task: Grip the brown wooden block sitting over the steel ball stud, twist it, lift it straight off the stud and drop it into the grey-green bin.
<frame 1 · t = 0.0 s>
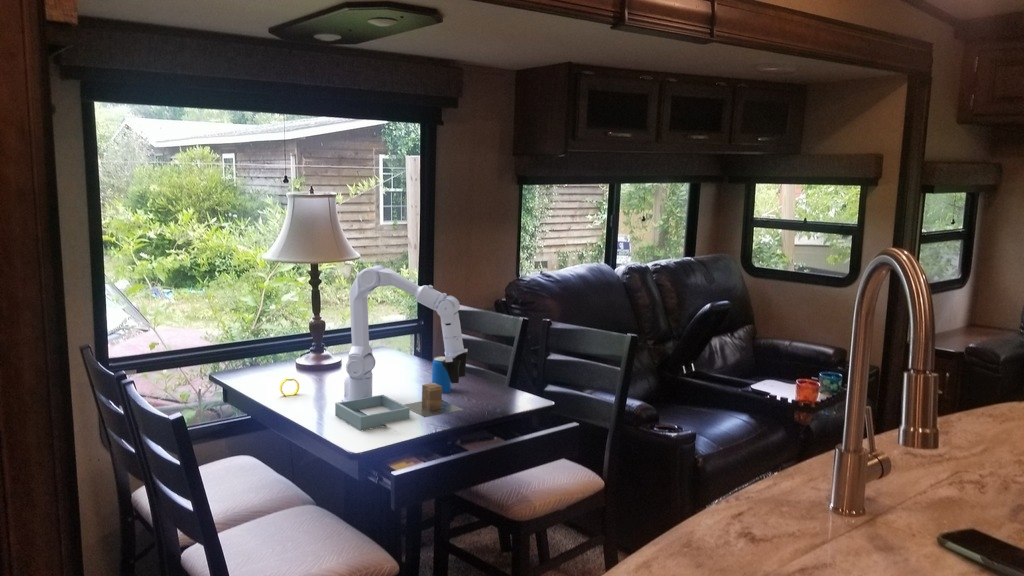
hand: (458, 379, 226), 11 cm above the table, tool pointing down, fingers open, 7 cm apart
brown wooden block: (431, 407, 228), point 1 cm above the table, touching stud base
bin: (372, 418, 219), on the table
stud base: (431, 410, 229), on the table
beverage can: (441, 393, 248), on the table
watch: (289, 395, 239), on the table
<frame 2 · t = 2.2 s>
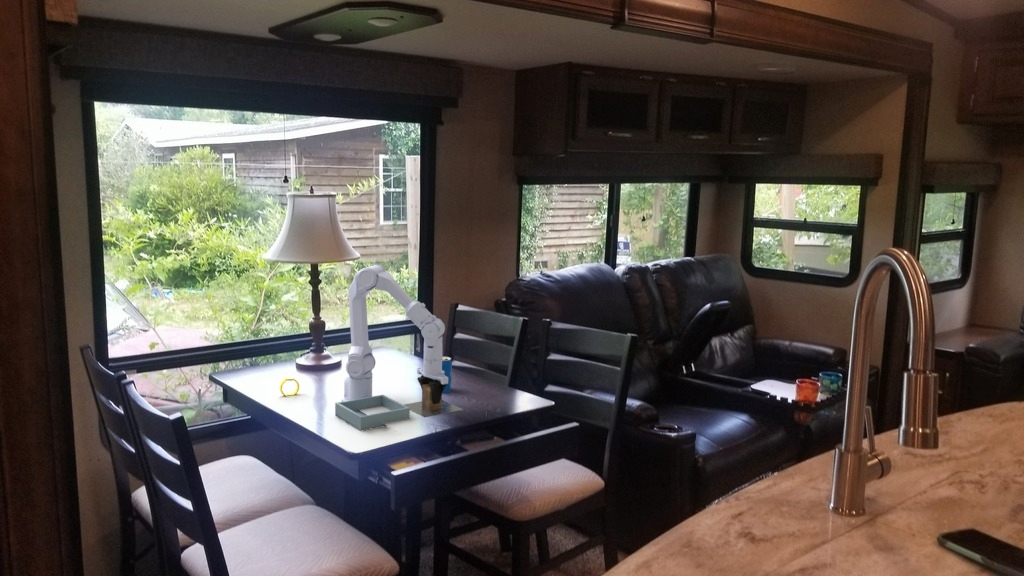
hand: (431, 401, 228), 3 cm above the table, tool pointing down, fingers closed on brown wooden block, 4 cm apart
brown wooden block: (431, 407, 228), point 1 cm above the table, touching gripper, stud base
everything else where it was.
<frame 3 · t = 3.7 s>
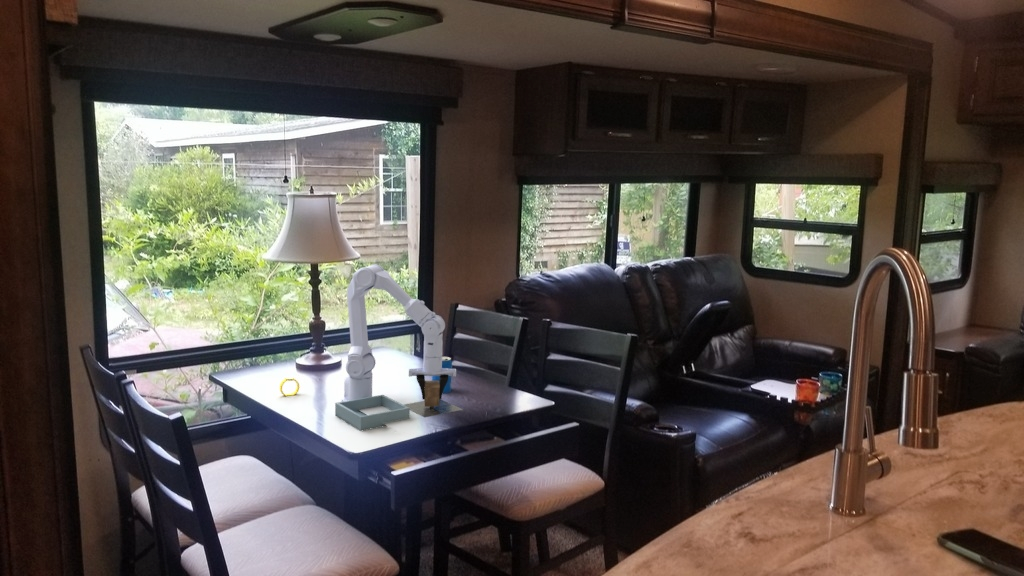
hand: (431, 398, 228), 4 cm above the table, tool pointing down, fingers closed on brown wooden block, 4 cm apart
brown wooden block: (431, 404, 228), point 2 cm above the table, touching gripper
everything else where it was.
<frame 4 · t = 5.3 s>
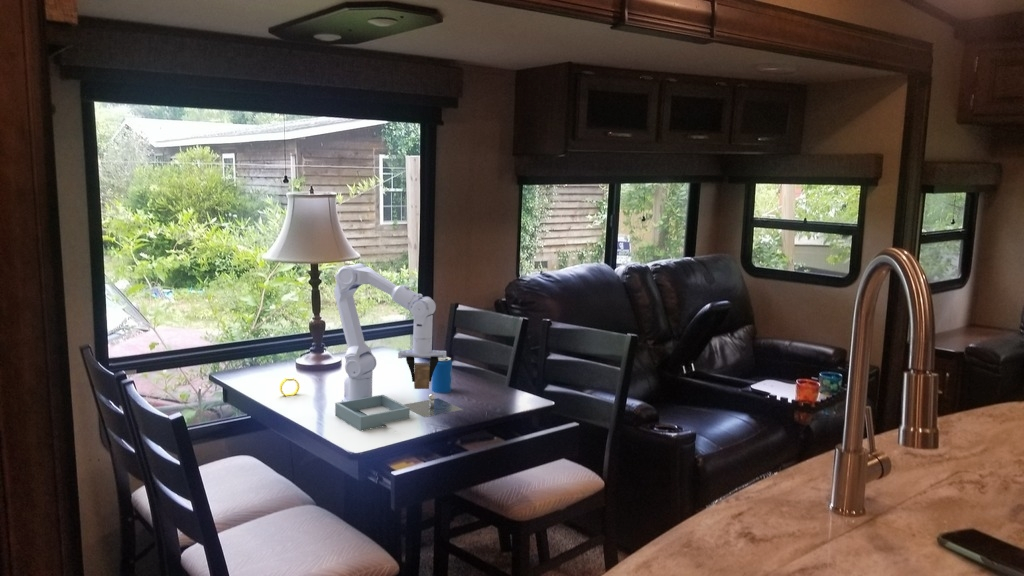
hand: (421, 380, 226), 10 cm above the table, tool pointing down, fingers closed on brown wooden block, 4 cm apart
brown wooden block: (421, 386, 226), point 8 cm above the table, touching gripper
everything else where it was.
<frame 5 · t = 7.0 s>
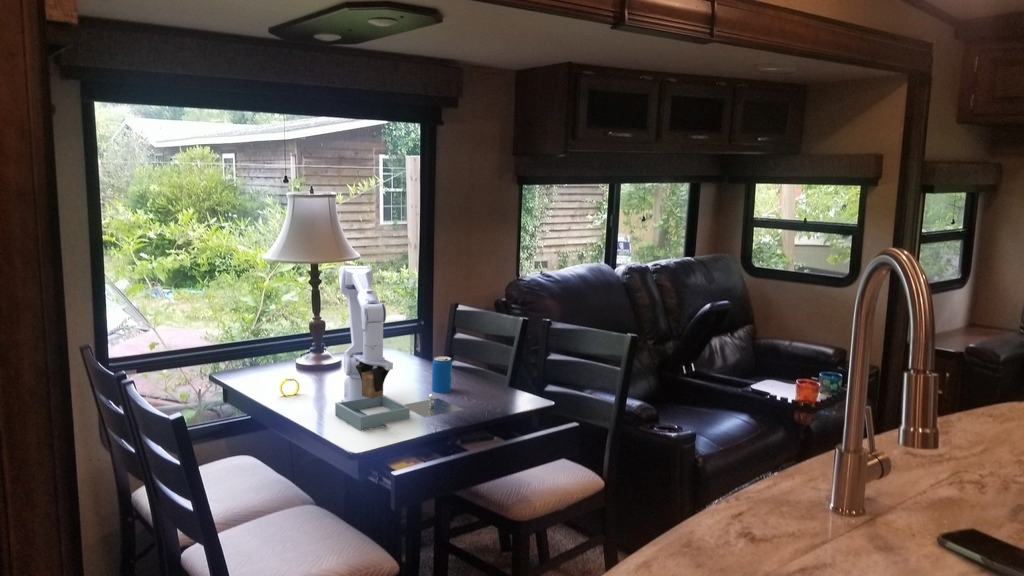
hand: (372, 389, 218), 9 cm above the table, tool pointing down, fingers closed on brown wooden block, 4 cm apart
brown wooden block: (372, 395, 218), point 7 cm above the table, touching gripper
everything else where it was.
when the fingers open (4 cm above the table, at t = 8.3 s): brown wooden block drops 1 cm, resting on bin.
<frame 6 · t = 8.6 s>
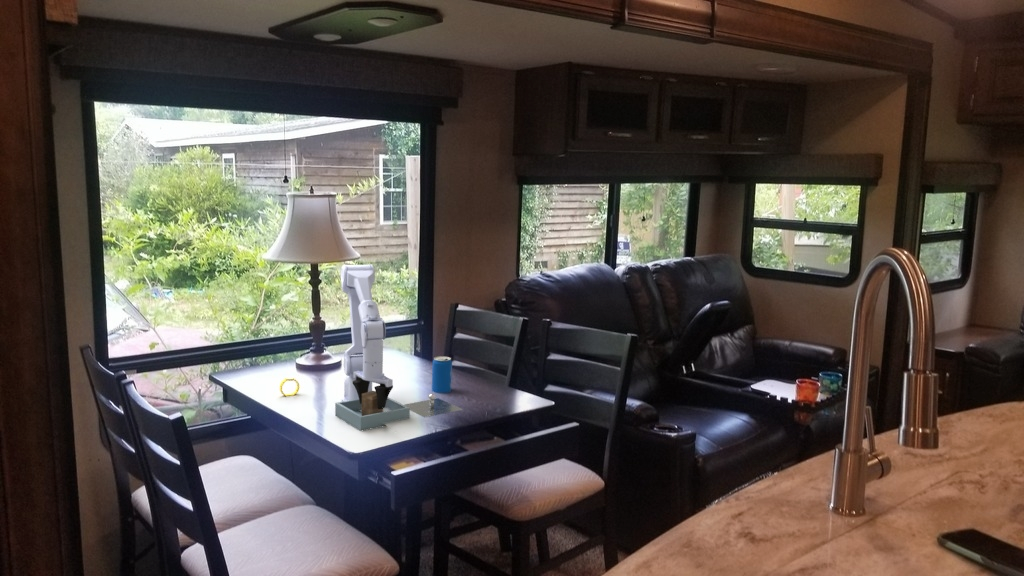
hand: (372, 405, 218), 4 cm above the table, tool pointing down, fingers open, 7 cm apart
brown wooden block: (372, 416, 219), point 1 cm above the table, touching bin
everything else where it was.
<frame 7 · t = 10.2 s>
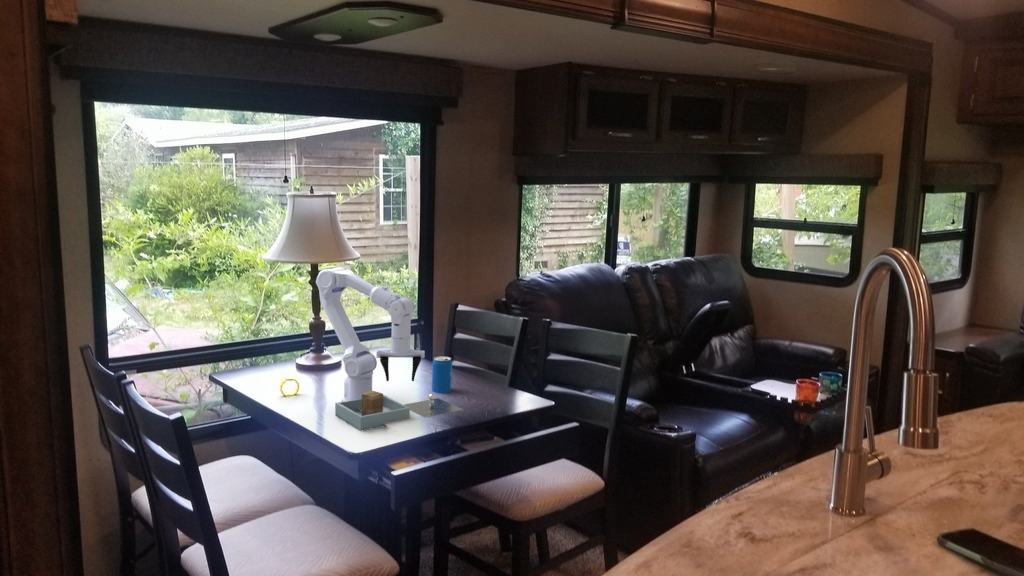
hand: (400, 380, 227), 9 cm above the table, tool pointing down, fingers open, 7 cm apart
nothing on the table moved.
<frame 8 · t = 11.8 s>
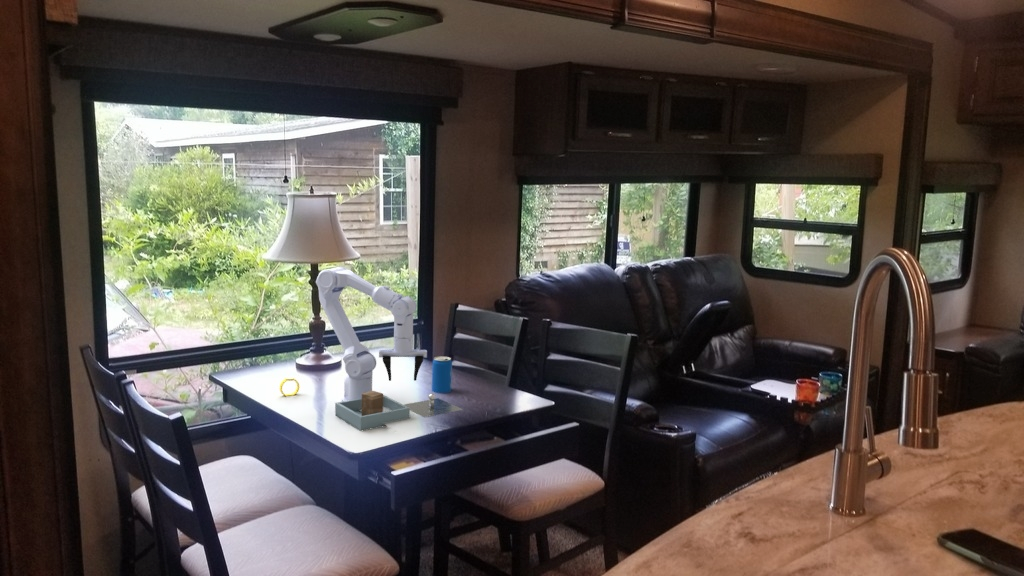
hand: (402, 379, 227), 9 cm above the table, tool pointing down, fingers open, 7 cm apart
nothing on the table moved.
at the end: brown wooden block inside the target area on the bin (0.0 cm from its centre), point 0.6 cm above the bin's base; brown wooden block tilted 0°; the gripper is holding nothing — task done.
